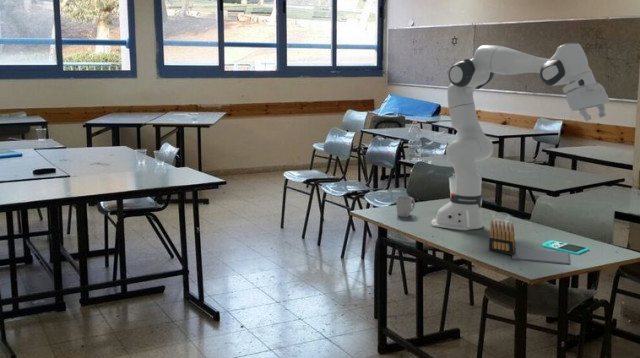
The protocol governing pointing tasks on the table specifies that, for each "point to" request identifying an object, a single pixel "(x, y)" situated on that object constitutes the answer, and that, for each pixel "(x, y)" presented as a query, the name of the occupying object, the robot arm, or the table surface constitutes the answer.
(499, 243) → the ammunition clip
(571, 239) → the table surface
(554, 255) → the rubber mat
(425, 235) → the table surface
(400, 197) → the cup
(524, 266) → the table surface
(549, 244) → the handheld game console
